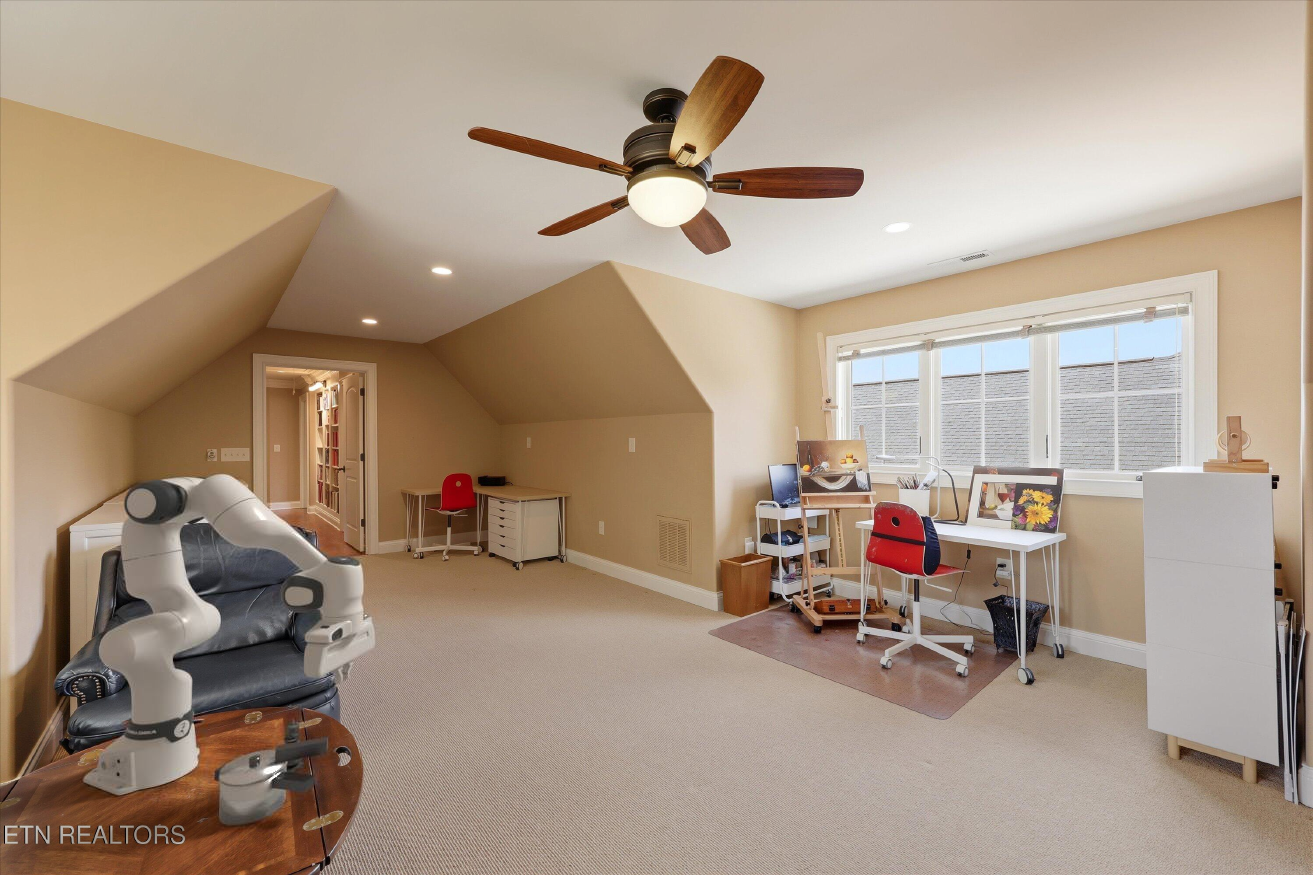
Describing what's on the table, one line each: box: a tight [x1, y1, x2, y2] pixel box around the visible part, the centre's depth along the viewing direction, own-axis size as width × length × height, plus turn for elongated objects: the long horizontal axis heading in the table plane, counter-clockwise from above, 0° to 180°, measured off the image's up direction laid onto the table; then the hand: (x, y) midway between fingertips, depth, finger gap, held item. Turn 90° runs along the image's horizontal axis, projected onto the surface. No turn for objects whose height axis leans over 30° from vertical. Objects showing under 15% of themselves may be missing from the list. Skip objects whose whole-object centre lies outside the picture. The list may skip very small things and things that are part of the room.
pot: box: [214, 763, 316, 826], centre depth 125 cm, size 23×12×8 cm, turn 80°
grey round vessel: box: [283, 718, 305, 773], centre depth 141 cm, size 6×6×12 cm
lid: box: [218, 736, 329, 786], centre depth 127 cm, size 20×12×4 cm, turn 115°
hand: (341, 681), depth 138 cm, fingers closed
